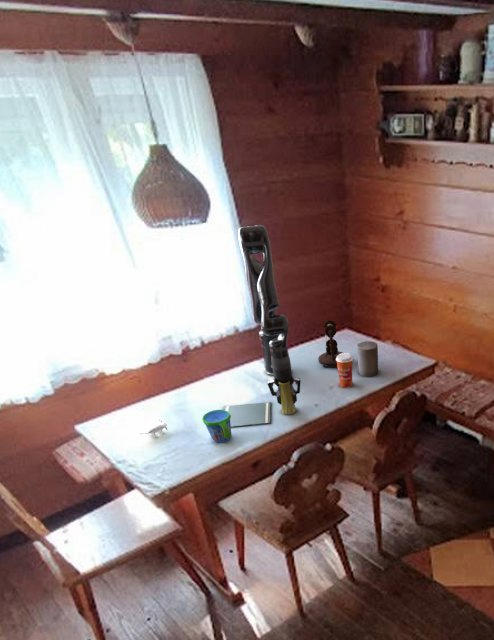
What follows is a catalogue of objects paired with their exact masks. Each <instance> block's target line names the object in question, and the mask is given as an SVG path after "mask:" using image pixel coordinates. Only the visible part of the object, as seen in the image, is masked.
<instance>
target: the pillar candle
mask: <svg viewBox="0 0 494 640" xmlns="http://www.w3.org/2000/svg"><path fill="white" fill-rule="evenodd" d="M356 347H357V363H358V374H359V375H360V376H362V377H366V378H368V377H373V376H377V375H379V372H380V371H379V350H378V349H379V348H378V343H376V342H375V341H371V340H366V341H361V342H358V344H357V345H356Z"/></svg>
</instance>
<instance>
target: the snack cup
mask: <svg viewBox="0 0 494 640" xmlns="http://www.w3.org/2000/svg"><path fill="white" fill-rule="evenodd" d="M230 418H231V415H230V413H229V412H228V411H226V410H224V409H214V410H210V411H207V412H206V413H205V414H204V415H203V416H202V418H201V420H202V422H203V423H204V425H205V427H206V429H207V432H208V433H209V435H210V437H211V439H212V441H213V442H216V443H225V442H227V441H229V440H230V439H231V438H232V427H231V424H230Z"/></svg>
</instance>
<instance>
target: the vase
mask: <svg viewBox="0 0 494 640" xmlns="http://www.w3.org/2000/svg"><path fill="white" fill-rule="evenodd" d="M278 383H279V382H278ZM288 383H289V384H290V381H289V382H287V383H279V384H280V389H281V392H280V399H281V404H280V405H281V412H282V414H283V415H293V414H295V413H296V412H297V409H296V405H295V404H296V403H294V400H293V394H292V392H291V390H290V386H288Z"/></svg>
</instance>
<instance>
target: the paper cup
mask: <svg viewBox="0 0 494 640" xmlns="http://www.w3.org/2000/svg"><path fill="white" fill-rule="evenodd" d="M353 360H354V358H353V356H352V354H350V353H349V352H343V353H341V354H339V355H338V356H337V357H336V361H337V366H336V367H337V373H338V380H339V385H340V387H341V388H344V389H345V388H347V389H348V388H351V387H352V386H353Z"/></svg>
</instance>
